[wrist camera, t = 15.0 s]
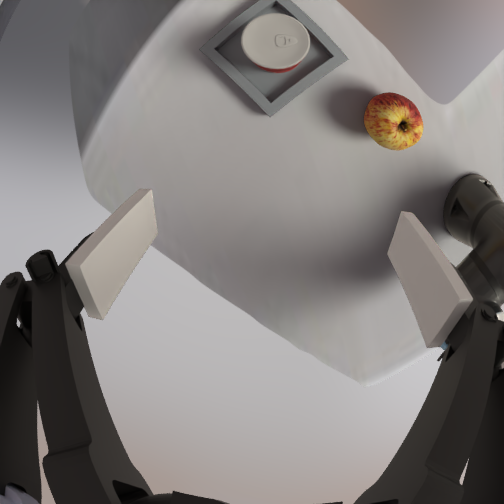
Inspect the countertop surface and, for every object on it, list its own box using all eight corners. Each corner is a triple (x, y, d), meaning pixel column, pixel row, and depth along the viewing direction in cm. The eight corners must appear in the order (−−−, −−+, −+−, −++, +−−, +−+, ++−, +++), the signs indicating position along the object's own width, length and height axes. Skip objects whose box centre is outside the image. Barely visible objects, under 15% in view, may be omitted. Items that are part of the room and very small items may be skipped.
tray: (344, 60, 32) (348, 59, 30) (270, 115, 39) (270, 117, 37) (276, -6, 27) (276, -12, 24) (204, 51, 34) (199, 49, 31)
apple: (409, 100, 34) (438, 107, 26) (399, 148, 39) (424, 165, 31) (360, 85, 34) (382, 86, 26) (351, 135, 40) (370, 149, 31)
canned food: (309, 66, 33) (319, 60, 24) (260, 79, 35) (253, 77, 26) (292, 24, 29) (297, 5, 20) (243, 38, 31) (231, 24, 22)
